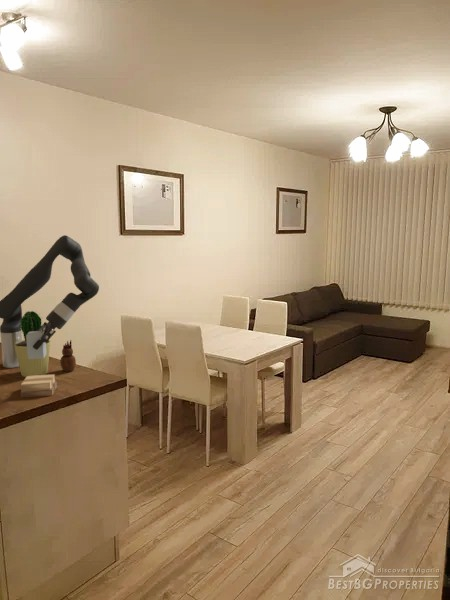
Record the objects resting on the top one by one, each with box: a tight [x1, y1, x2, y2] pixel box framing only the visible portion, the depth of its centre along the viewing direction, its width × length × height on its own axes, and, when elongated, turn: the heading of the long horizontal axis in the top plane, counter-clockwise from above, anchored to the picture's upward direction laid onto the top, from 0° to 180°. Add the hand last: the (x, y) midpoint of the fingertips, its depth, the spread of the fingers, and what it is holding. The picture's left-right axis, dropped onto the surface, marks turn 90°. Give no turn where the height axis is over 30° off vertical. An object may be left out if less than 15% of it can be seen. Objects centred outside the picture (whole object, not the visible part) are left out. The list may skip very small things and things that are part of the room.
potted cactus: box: [14, 310, 51, 378], centre depth 209 cm, size 15×15×30 cm
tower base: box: [20, 379, 58, 398], centre depth 188 cm, size 12×12×3 cm
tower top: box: [20, 373, 56, 392], centre depth 187 cm, size 11×11×3 cm
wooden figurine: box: [59, 339, 77, 373], centre depth 214 cm, size 7×6×15 cm
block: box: [26, 331, 47, 359], centre depth 185 cm, size 6×6×10 cm
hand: (32, 346), depth 184 cm, fingers closed on block, 8 cm apart
